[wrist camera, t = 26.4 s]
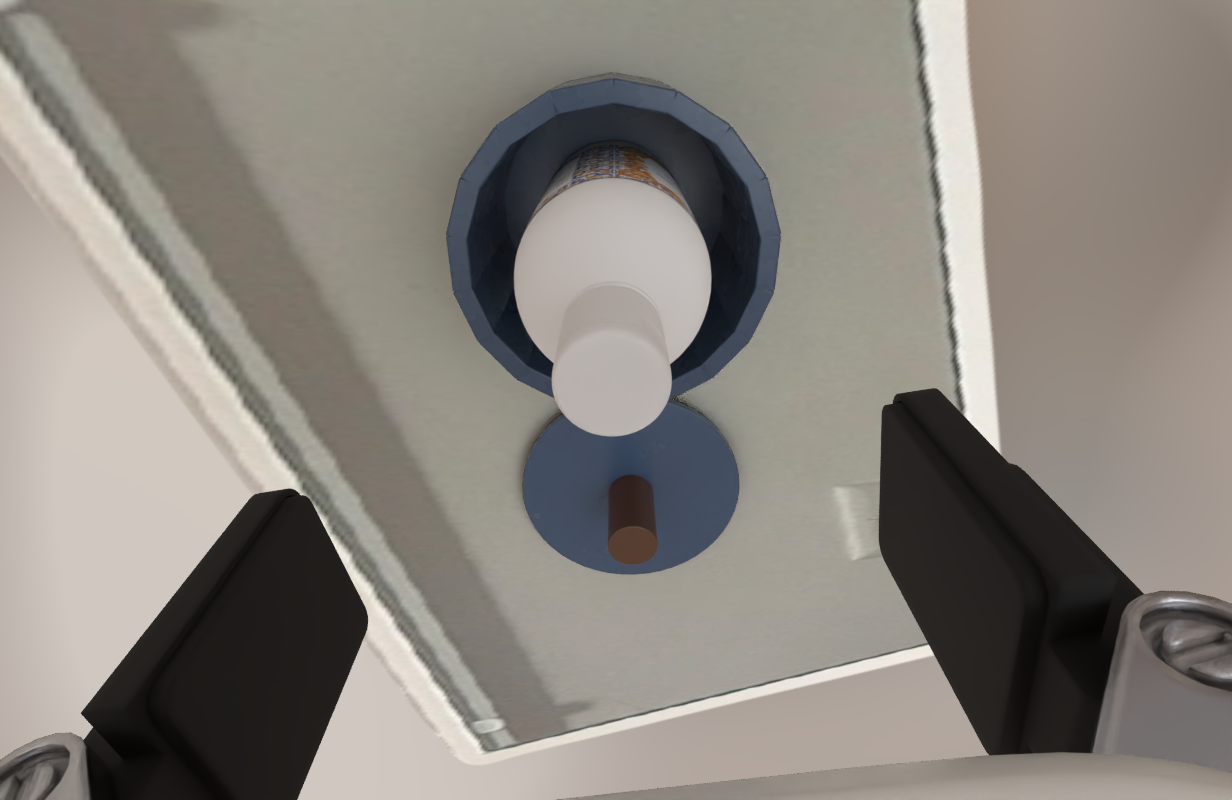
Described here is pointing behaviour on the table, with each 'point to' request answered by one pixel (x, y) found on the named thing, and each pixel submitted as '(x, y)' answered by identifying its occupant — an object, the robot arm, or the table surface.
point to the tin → (701, 165)
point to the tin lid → (632, 491)
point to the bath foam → (612, 284)
